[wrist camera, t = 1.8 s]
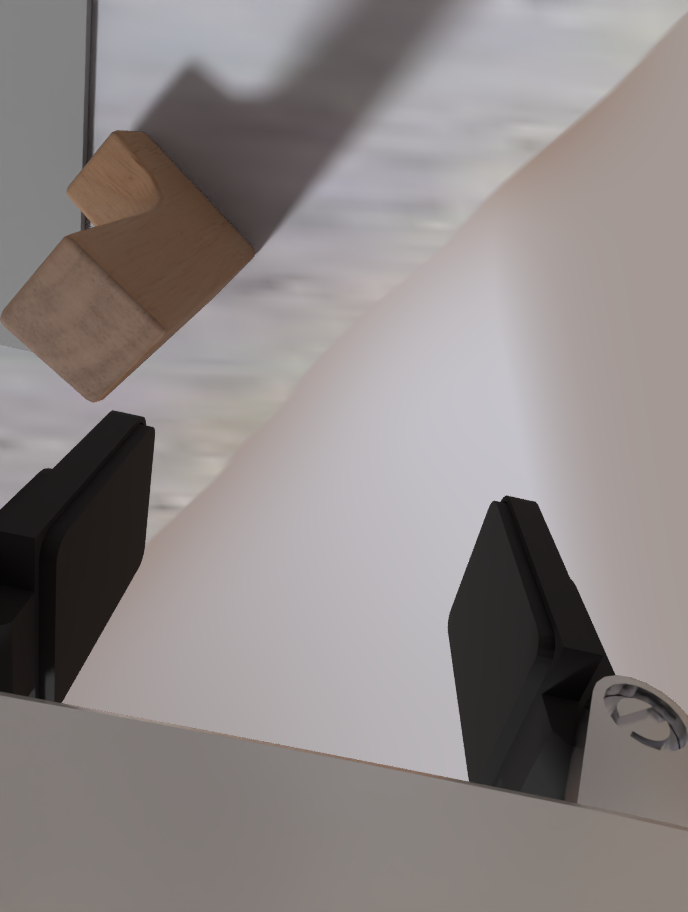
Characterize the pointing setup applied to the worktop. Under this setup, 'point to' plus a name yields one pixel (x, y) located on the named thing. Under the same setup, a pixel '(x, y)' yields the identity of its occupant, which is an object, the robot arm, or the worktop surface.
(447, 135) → the worktop surface
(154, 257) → the wooden block
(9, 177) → the mat
